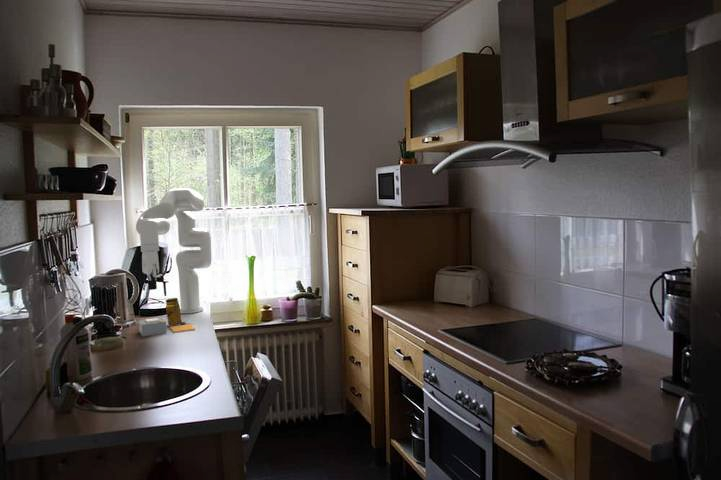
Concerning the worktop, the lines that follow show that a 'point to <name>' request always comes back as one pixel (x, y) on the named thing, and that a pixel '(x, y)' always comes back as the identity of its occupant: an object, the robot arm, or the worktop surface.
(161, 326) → the box
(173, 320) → the condiment
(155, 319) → the button
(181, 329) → the lockout pad
